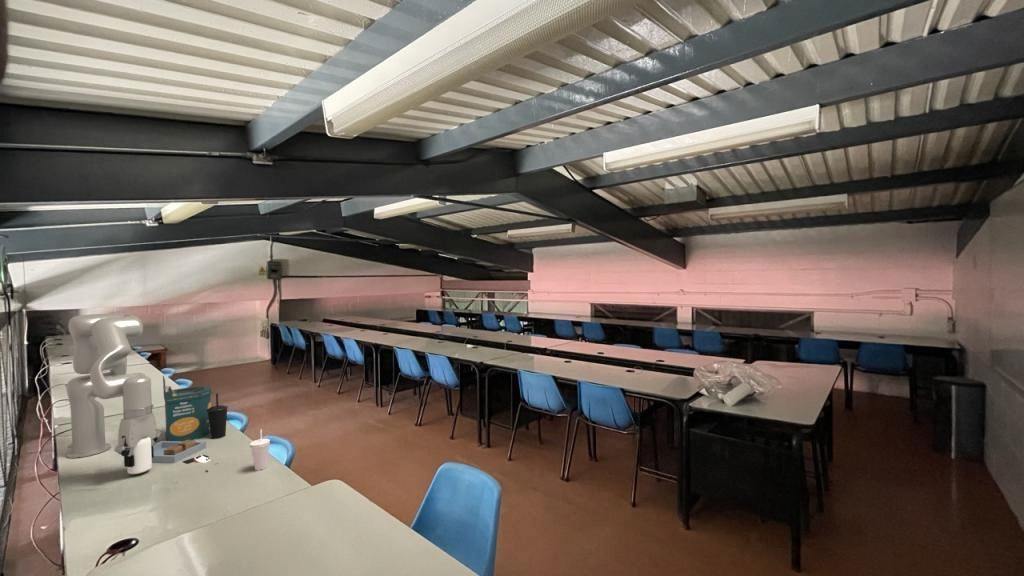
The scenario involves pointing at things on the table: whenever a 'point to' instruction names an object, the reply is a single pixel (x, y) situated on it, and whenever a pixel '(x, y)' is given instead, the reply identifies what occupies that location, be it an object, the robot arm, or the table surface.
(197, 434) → the donation box
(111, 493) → the table surface
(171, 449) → the walnut block
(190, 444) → the walnut block
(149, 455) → the can
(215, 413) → the drinking cup
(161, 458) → the tray
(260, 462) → the smoothie
